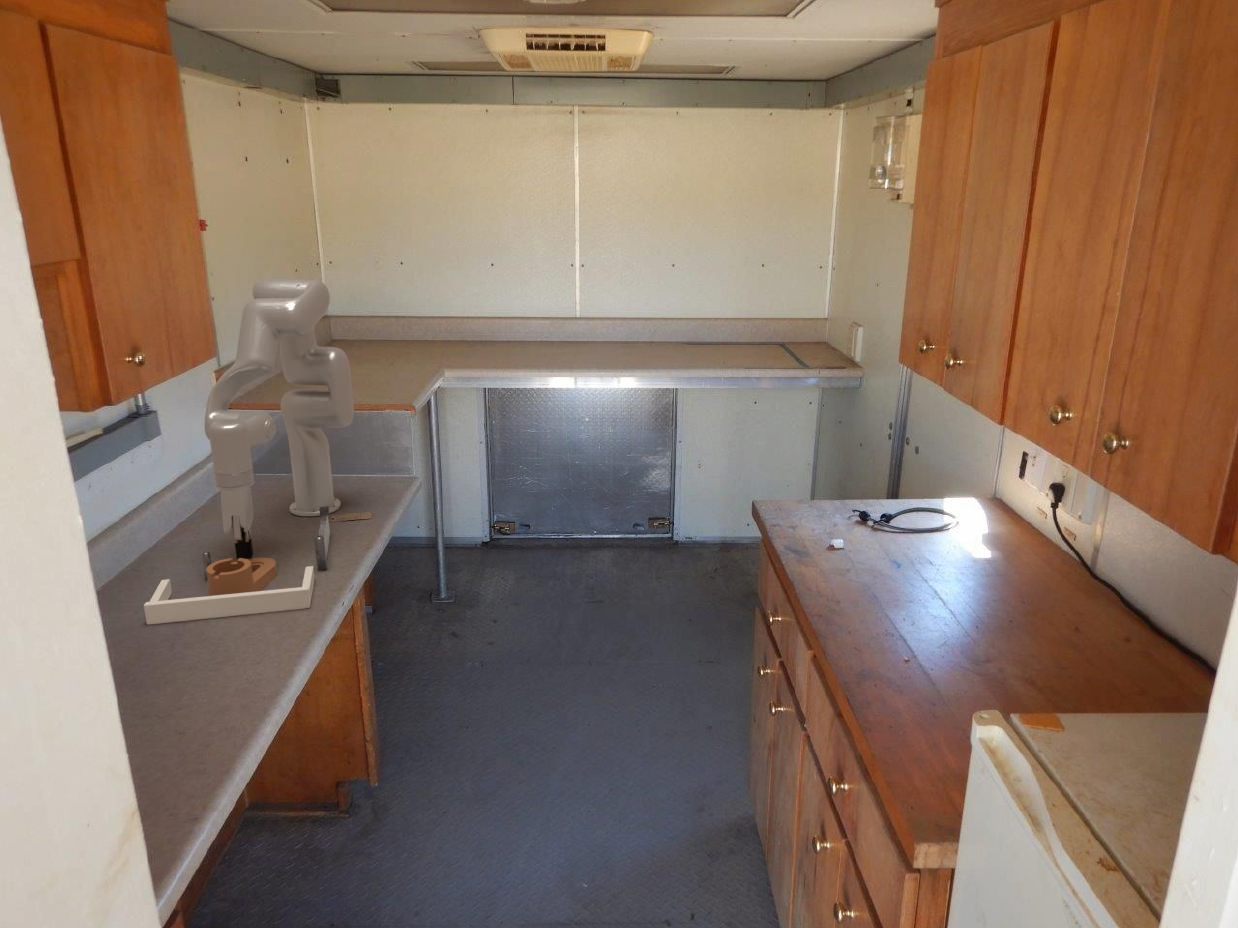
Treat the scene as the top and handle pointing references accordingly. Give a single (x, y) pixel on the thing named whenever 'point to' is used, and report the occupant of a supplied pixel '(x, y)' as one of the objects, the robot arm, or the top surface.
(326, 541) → the gate
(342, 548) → the top surface
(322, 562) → the hinge post
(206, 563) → the post
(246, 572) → the bracket
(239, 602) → the white u-shaped frame
